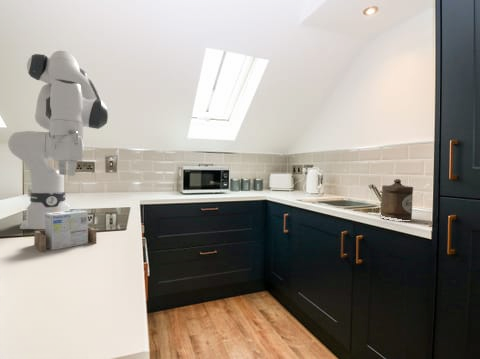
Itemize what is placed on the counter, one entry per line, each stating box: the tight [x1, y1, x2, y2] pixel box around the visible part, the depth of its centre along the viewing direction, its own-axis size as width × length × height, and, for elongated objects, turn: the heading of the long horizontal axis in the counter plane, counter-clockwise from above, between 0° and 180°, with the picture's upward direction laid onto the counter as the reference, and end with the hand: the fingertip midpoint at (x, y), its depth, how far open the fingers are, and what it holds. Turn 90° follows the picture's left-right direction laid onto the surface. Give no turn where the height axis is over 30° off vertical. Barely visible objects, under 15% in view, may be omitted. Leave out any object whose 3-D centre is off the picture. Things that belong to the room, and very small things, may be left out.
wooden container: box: [380, 178, 414, 221], centre depth 151 cm, size 15×15×22 cm
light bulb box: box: [44, 209, 89, 251], centre depth 89 cm, size 11×7×11 cm, turn 141°
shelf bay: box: [33, 225, 97, 253], centre depth 90 cm, size 10×15×4 cm
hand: (66, 175), depth 88 cm, fingers open, 8 cm apart
